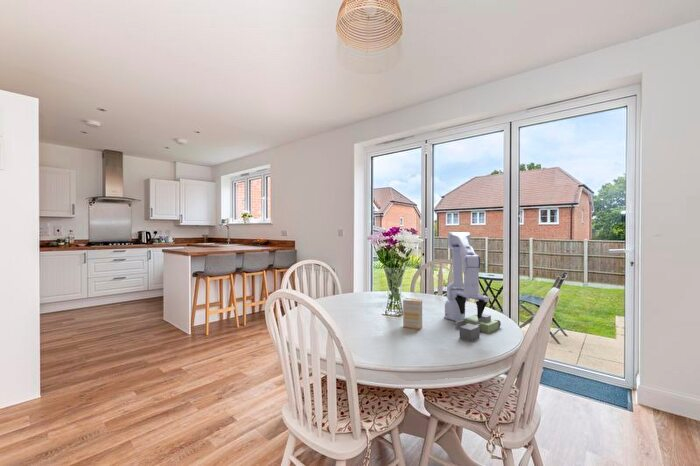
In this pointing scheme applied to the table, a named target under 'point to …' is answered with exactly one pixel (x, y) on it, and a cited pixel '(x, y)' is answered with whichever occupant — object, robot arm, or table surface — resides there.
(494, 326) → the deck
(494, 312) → the table surface
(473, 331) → the grey block
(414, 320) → the supplement box
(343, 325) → the table surface
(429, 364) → the table surface
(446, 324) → the table surface
